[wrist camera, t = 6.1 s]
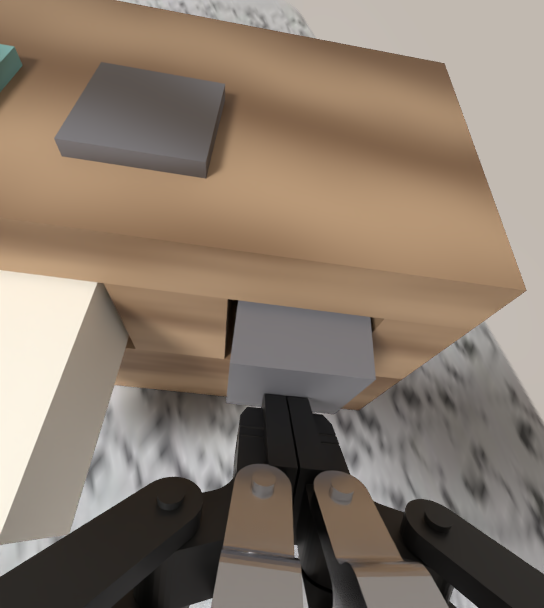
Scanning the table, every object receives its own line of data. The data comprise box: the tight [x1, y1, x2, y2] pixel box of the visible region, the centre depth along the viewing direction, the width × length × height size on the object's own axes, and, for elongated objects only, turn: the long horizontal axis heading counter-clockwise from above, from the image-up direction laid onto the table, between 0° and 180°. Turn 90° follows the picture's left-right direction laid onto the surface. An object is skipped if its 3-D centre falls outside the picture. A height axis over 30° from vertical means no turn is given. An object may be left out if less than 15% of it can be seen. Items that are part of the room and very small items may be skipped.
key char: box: [226, 300, 376, 414], centre depth 14 cm, size 10×4×4 cm, turn 176°
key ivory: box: [0, 270, 129, 545], centre depth 11 cm, size 10×4×4 cm, turn 176°
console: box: [0, 0, 526, 410], centre depth 15 cm, size 11×26×12 cm, turn 86°
